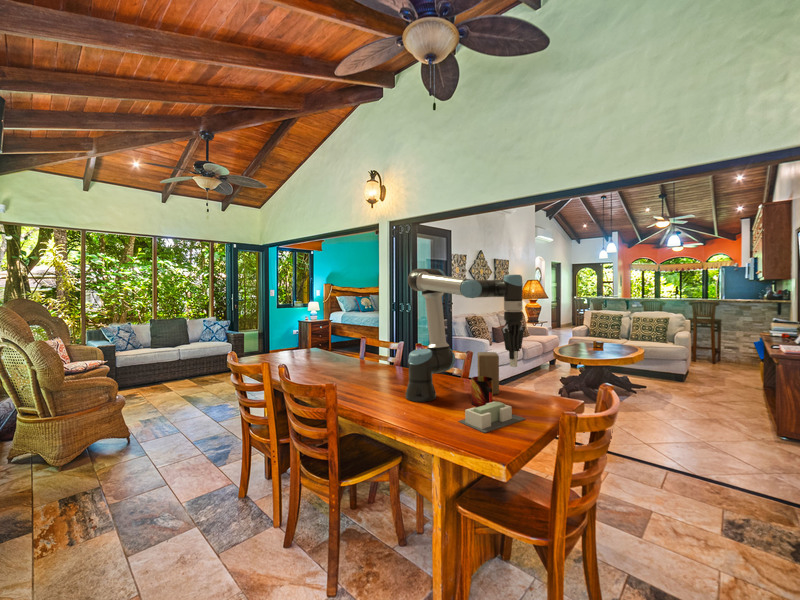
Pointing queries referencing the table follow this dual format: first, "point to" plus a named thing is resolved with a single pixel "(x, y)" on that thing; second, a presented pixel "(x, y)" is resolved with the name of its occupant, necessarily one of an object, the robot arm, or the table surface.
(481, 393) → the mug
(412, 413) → the table surface
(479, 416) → the cap
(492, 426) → the mat
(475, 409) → the slat
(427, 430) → the table surface
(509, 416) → the cap
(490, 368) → the wooden block
